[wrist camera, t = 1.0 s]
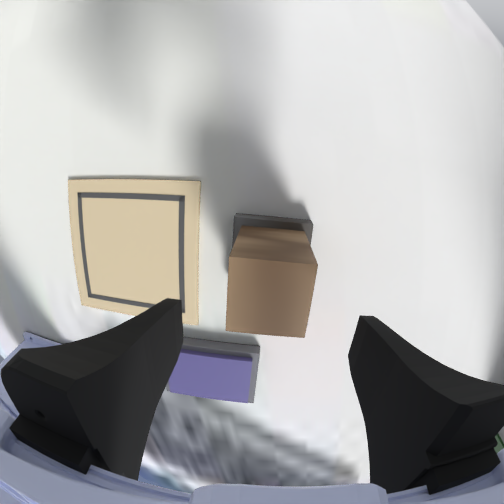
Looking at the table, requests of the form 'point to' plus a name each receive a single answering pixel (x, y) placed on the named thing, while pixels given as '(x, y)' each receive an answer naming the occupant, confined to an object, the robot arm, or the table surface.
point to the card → (136, 243)
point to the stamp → (270, 276)
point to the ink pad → (216, 370)
